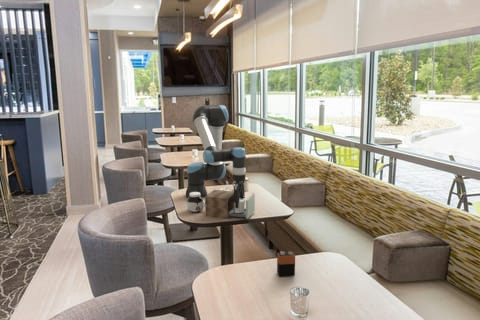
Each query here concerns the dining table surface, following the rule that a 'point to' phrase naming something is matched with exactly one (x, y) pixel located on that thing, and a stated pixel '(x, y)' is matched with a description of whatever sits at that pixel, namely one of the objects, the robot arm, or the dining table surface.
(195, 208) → the spread jar
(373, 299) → the dining table surface
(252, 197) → the pale green angular block
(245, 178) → the teacup with lid
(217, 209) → the box
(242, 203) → the shot glass
